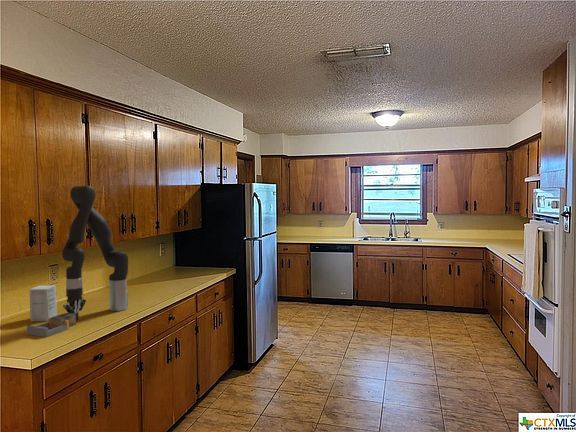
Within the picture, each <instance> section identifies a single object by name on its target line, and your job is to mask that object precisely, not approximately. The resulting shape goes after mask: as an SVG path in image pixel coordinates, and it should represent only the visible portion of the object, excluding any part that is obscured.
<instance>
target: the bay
mask: <svg viewBox="0 0 576 432" xmlns="http://www.w3.org/2000/svg"><path fill="white" fill-rule="evenodd" d="M69 330H70V327H69V320H65V325H62V326H59V327H56V328H54V329H51V318H48V321H46V322H45V323H42V324H38V325H30V324H29V325H26V335H28V336H29V335H30V336H35V337H36V336H37V337H41V338H48V337H51V336H53V335H57V334H59V333H62V332H65V331H69Z"/></svg>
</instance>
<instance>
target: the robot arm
mask: <svg viewBox="0 0 576 432" xmlns="http://www.w3.org/2000/svg"><path fill="white" fill-rule="evenodd" d="M69 194H70V195H69V196H70V198H71V201H72V202H73V204H74V205H75V206H76V208H77V209H78V212H77V214H76V216H75V217H74V218H73V220H72V222H71V224H70V228H69V233H68V239H67V240H66V243H65V244H64V246H63V249H62V251H61V252H62V253H61V254H62V255H61V256H62V259H63V260H64V261H65V262H72V263H71V266H68V267H66V270H65V274H66V275H65V278H66V279H65V280H66V281H65V296H66V298H67V300H66V303H65V304H63V306H62V307H63V308H64V309H65V311H66V313H73V314H76V321H78V320H79V317H80V315H79V313H80V312H81V311H82V310H83V308H84V306H85V304H86V302H87V300H86V299H83V295H84V293H83V292H84V291H83V286H84V285H83V275H82V274H83V273H82V269H83V266H84V261H85V257H86V256H85V251H84V250H83V249H82V248H80V247H77V246H78V245H79V244H83V242H84V240H85V233H86V229H87V228H86V227H88V228H89V231H90V232H91V234H92V236H93V237H94V239H95V241H96V243H97V246H98V247H99V249H100V251H101V253H102V256H103V258H104V261H105V263H106V265H107V266H109V267H111V268H113V269H114V270H113V273H110V274H109V276H108V285H109V287H108V289H109V291H108V292H109V294H108V295H109V310H110V311H111V312H121V311H125V310H128V308H129V292H128V288H127V287H128V286H127V285H128V284H127V283H128V282H127V280H128V279H127V276H128V273H129V258H128V257H129V256H128V254H127V253H126V252H125V251H118V250H116V249H115V248H114V246H113V244H112V242H111V238H112V231H111V227H110V225H109V223H108V222H107V220H106V218H104V216H103V215H101V214H100V213H99V211H97V210H96V209H95V208H94V207H93V205H94V202H95V200H96V190H95V188H94V187H93V186H91V185H75V186H73V187H72V188H71V189H70V193H69Z"/></svg>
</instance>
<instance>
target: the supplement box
mask: <svg viewBox="0 0 576 432" xmlns="http://www.w3.org/2000/svg"><path fill="white" fill-rule="evenodd" d="M28 291H29V292H28V293H29V314H30V315H29V316H30V322H48V318H51V317H54V316H58V307H57V306H58V305H57V302H58V301H57V286H56V285H37V286H35V287H32V288H30V289H29V290H28Z"/></svg>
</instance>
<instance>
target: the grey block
mask: <svg viewBox="0 0 576 432" xmlns="http://www.w3.org/2000/svg"><path fill="white" fill-rule="evenodd" d="M65 320H69V328H71V327H74V326H76V325H77V320H76V314H73V313H68V312H65V313H61V314H57V316H54V317H51V327H50V330H51V329H54V328H56V327H59V326H62V325H65ZM73 325H74V326H73Z"/></svg>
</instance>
